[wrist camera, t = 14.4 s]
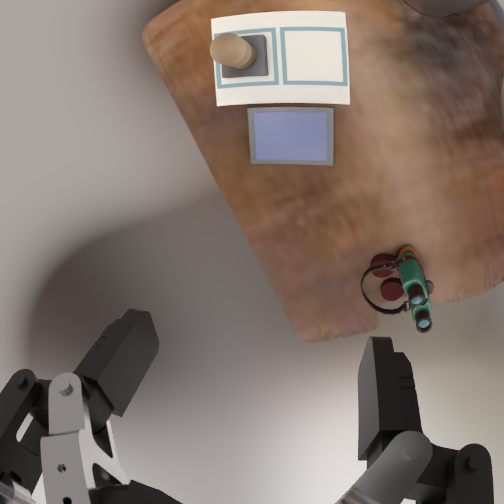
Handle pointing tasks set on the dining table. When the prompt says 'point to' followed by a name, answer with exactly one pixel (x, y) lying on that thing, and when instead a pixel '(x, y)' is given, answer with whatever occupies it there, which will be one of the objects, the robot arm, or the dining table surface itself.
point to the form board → (290, 58)
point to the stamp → (240, 55)
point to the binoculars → (403, 286)
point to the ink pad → (291, 135)
